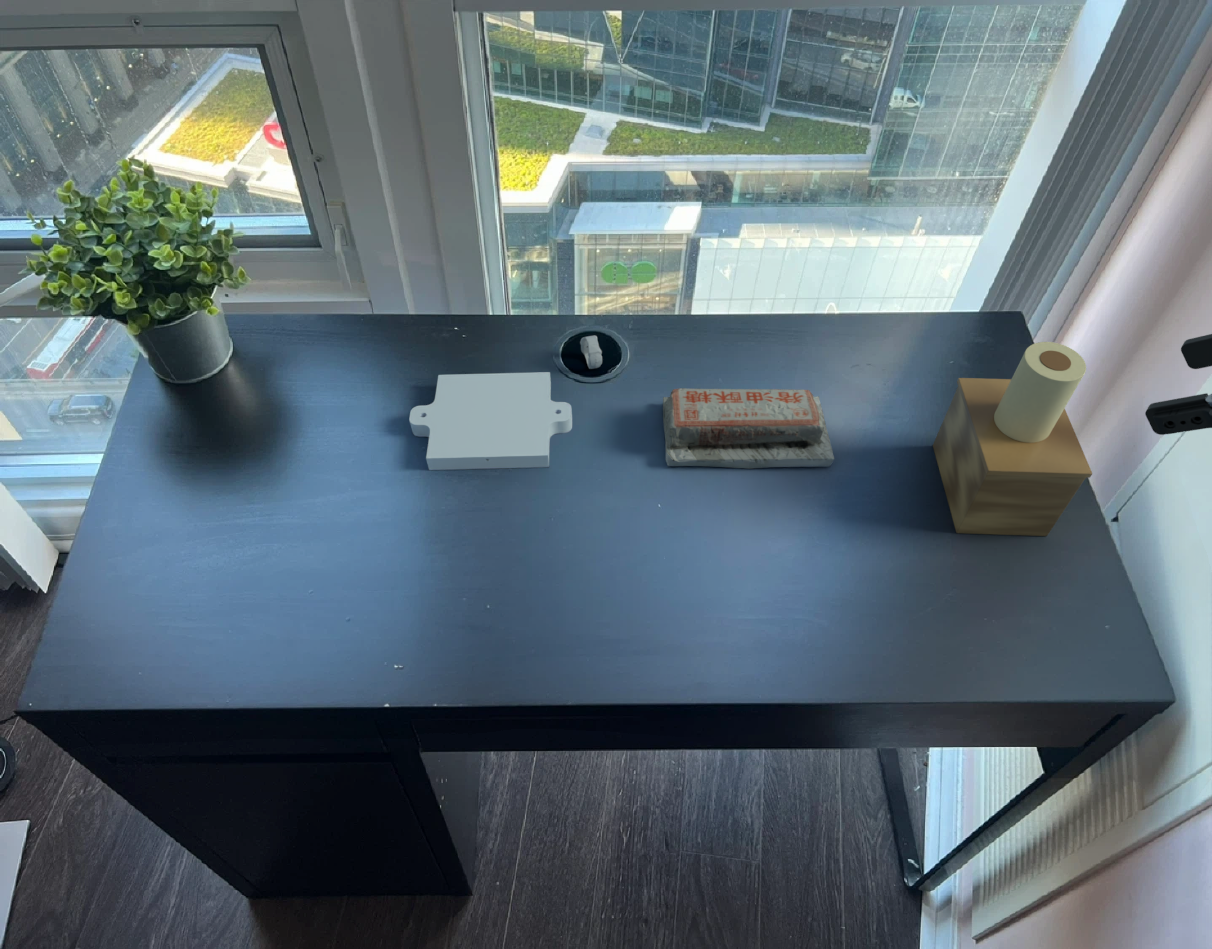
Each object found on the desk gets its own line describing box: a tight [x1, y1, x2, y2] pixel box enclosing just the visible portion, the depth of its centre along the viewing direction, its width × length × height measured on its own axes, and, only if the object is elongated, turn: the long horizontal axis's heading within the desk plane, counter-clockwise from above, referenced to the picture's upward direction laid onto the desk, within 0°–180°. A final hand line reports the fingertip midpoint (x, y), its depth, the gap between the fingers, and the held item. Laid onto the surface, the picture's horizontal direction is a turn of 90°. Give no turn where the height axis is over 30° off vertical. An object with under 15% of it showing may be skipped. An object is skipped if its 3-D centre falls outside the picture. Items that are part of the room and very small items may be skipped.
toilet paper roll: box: [994, 341, 1087, 443], centre depth 78 cm, size 5×5×8 cm
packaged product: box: [662, 387, 835, 469], centre depth 92 cm, size 18×5×10 cm
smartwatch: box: [579, 335, 603, 370], centre depth 100 cm, size 4×2×4 cm, turn 14°
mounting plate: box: [408, 371, 573, 471], centre depth 94 cm, size 18×13×2 cm
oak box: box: [932, 377, 1093, 537], centre depth 85 cm, size 12×9×10 cm
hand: (1168, 386), depth 60 cm, fingers open, 8 cm apart
